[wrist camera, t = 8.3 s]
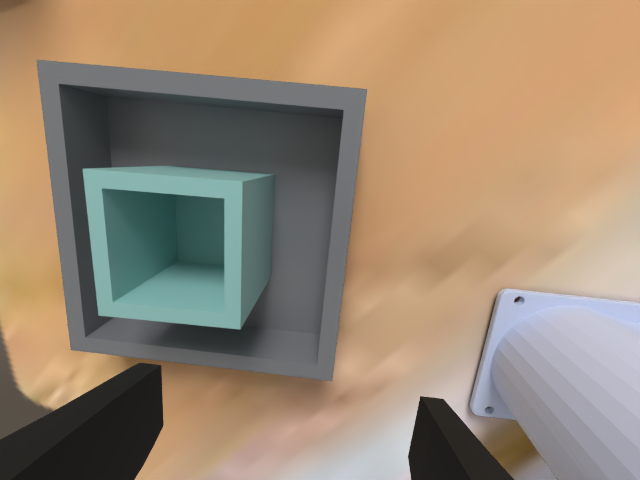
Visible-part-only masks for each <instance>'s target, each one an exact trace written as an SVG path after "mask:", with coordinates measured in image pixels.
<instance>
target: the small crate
mask: <svg viewBox="0 0 640 480" xmlns="http://www.w3.org/2000/svg"><path fill="white" fill-rule="evenodd" d="M83 178H84V187H85V196H86V205H87V214H88V224H89V233H90V242H91V251H92V260H93V269H94V279H95V288H96V297H97V306H98V315H99V316H109V317H119V318H129V319H139V320H149V321H159V322H169V323H179V324H189V325H199V326H210V327H220V328H230V329H241V328H242V326H243V324H244V322H245V321H246V319H247V317H248V315H249V314H250V312H251V310H252V309H253V307H254V305H255V303H256V302H257V300H258V298H259V296H260V295H261V293H262V291H263V289H264V288H265V286H266V284H267V283H268V281H269V279H270V277H271V265H272V240H273V215H274V190H275V174H266V173H254V172H242V171H229V170H217V169H204V168H192V167H180V166H142V167H114V168H86V169H83Z"/></svg>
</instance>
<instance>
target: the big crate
mask: <svg viewBox="0 0 640 480" xmlns="http://www.w3.org/2000/svg"><path fill="white" fill-rule="evenodd" d="M37 68H38V77H39V85H40V94H41V102H42V110H43V119H44V127H45V136H46V144H47V153H48V161H49V169H50V178H51V186H52V195H53V203H54V212H55V220H56V228H57V237H58V245H59V254H60V262H61V271H62V279H63V287H64V296H65V304H66V313H67V321H68V330H69V338H70V346H71V350H75V351H83V352H92V353H100V354H109V355H117V356H126V357H134V358H142V359H151V360H159V361H168V362H176V363H184V364H193V365H201V366H210V367H218V368H227V369H235V370H243V371H252V372H260V373H269V374H277V375H285V376H294V377H302V378H311V379H319V380H328V381H332V378H333V369H334V361H335V353H336V344H337V336H338V328H339V319H340V311H341V303H342V294H343V286H344V278H345V269H346V261H347V253H348V244H349V236H350V228H351V220H352V211H353V203H354V195H355V186H356V178H357V170H358V161H359V153H360V145H361V136H362V128H363V120H364V111H365V103H366V95H367V89H359V88H348V87H337V86H326V85H314V84H303V83H292V82H281V81H270V80H258V79H247V78H236V77H225V76H213V75H202V74H191V73H180V72H168V71H157V70H146V69H135V68H124V67H112V66H101V65H90V64H79V63H67V62H56V61H45V60H37ZM142 166H180V167H192V168H204V169H217V170H229V171H242V172H254V173H266V174H275V190H274V215H273V240H272V265H271V277H270V279H269V281H268V283H267V284H266V286H265V288H264V289H263V291H262V293H261V295H260V296H259V298H258V300H257V302H256V303H255V305H254V307H253V309H252V310H251V312H250V314H249V315H248V317H247V319H246V321H245V322H244V324H243V326H242V328H241V329H230V328H220V327H210V326H199V325H189V324H179V323H169V322H159V321H149V320H139V319H129V318H119V317H109V316H99V315H98V306H97V297H96V288H95V279H94V269H93V260H92V251H91V242H90V233H89V224H88V214H87V205H86V196H85V187H84V178H83V169H86V168H114V167H142Z"/></svg>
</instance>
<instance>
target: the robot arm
mask: <svg viewBox="0 0 640 480" xmlns="http://www.w3.org/2000/svg"><path fill="white" fill-rule="evenodd" d="M518 296H520V300H519V301H517V302H514V300H515V298H516V297H518ZM487 407H490V408H488V409H486V408H487ZM470 408H471V410H472V412H473V413H474V414H475V415H478V416H485V417H493V418H502V419H510V420H517V422H518V423H519V425H520V426H521V428H522V429H523V431H524V432H525V433H526V435H527V436H528V438H529V439H530V441H531V442H532V444H533V445H534V447H535V448H536V450H537V451H538V453H539V454H540V455H541V457H542V458H543V460H544V461H545V463H546V464H547V466H548V467H549V469H550V470H551V472H552V473H553V474H554V476H555V477H556V479H557V480H640V303H639V302H630V301H620V300H611V299H602V298H592V297H583V296H574V295H564V294H555V293H546V292H537V291H527V290H518V289H503V290H501V291H500V292H499V293H498V295H497V298H496V302H495V306H494V310H493V314H492V318H491V322H490V326H489V330H488V334H487V338H486V342H485V346H484V349H483V353H482V357H481V361H480V365H479V369H478V373H477V377H476V381H475V385H474V389H473V393H472V397H471V401H470ZM162 427H163V403H162V376H161V365H154V364H146V363H139V364H137V365H135V366H133V367H131V368H129V369H127V370H125V371H123V372H122V373H120V374H118V375H116V376H115V377H113V378H111V379H109V380H108V381H106V382H104V383H102V384H101V385H99V386H97V387H95V388H94V389H92V390H90V391H88V392H87V393H85V394H83V395H81V396H80V397H78V398H76V399H74V400H73V401H71V402H69V403H67V404H66V405H64V406H62V407H60V408H58V409H57V410H55V411H53V412H52V413H50V414H48V415H46V416H44V417H43V418H40V419H38V420H37V421H35V422H33V423H31V424H29V425H27V426H25V427H23V428H21V429H20V430H18V431H16V432H14V433H12V434H10V435H8V436H6V437H4V438H3V439H1V440H0V480H134V479H135V478H136V476H137V474H138V473H139V471H140V470H141V468H142V466H143V465H144V463H145V461H146V459H147V457H148V455H149V453H150V451H151V450H152V448H153V446H154V444H155V442H156V440H157V438H158V435H159V433H160V431H161V429H162ZM408 459H409V466H410V473H411V480H514V479H513V478H512V477H511V476H510V475H509V474H508V472H507V471H506V470H505V469H504V468H503V467H502V466H501V465H500V464H499V463H498V461H497V460H496V459H495V458H494V457H493V456H492V455H491V454H490V452H489V451H488V450H487V449H486V448H485V447H484V446H483V444H482V443H481V442H480V441H479V440H478V439H477V438H476V436H475V435H474V434H473V433H472V432H471V431H470V429H469V428H468V427H467V426H466V425H465V424H464V422H463V421H462V420H461V419H460V418H459V417H458V415H457V414H456V413H455V412H454V411H453V410H452V408H451V407H450V406H449V405H448V404H447V403H446V402H445V401H444V399H439V398H430V397H422V396H420V401H419V406H418V411H417V416H416V421H415V426H414V431H413V435H412V440H411V445H410V450H409V455H408Z"/></svg>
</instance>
